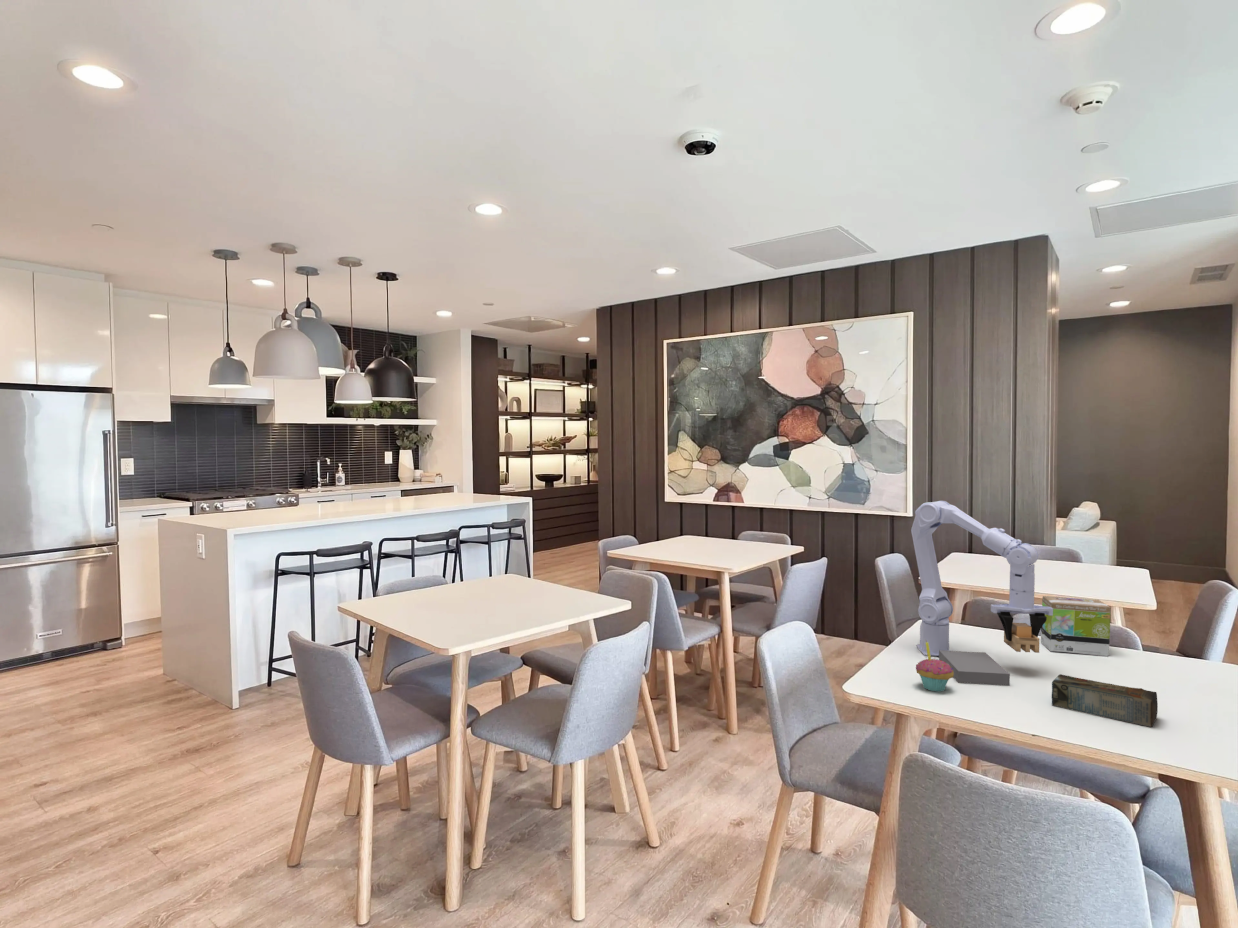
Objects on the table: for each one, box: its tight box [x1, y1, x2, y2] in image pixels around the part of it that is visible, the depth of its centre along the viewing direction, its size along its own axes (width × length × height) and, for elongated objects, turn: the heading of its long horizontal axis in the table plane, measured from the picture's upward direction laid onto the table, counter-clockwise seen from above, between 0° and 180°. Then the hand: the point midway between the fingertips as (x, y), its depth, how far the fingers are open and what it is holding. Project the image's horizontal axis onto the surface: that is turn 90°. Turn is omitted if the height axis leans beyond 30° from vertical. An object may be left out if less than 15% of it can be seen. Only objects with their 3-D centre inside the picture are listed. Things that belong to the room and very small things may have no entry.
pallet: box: [1003, 630, 1040, 654], centre depth 184 cm, size 9×5×4 cm, turn 170°
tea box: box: [1040, 595, 1112, 657], centre depth 203 cm, size 15×10×15 cm, turn 73°
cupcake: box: [915, 639, 954, 692], centre depth 172 cm, size 9×8×12 cm
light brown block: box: [1012, 622, 1032, 638], centre depth 184 cm, size 4×4×3 cm
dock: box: [938, 650, 1011, 687], centre depth 183 cm, size 18×12×3 cm, turn 169°
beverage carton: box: [1051, 674, 1158, 728], centre depth 157 cm, size 8×19×7 cm, turn 47°
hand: (1021, 640), depth 184 cm, fingers closed on pallet, 5 cm apart
